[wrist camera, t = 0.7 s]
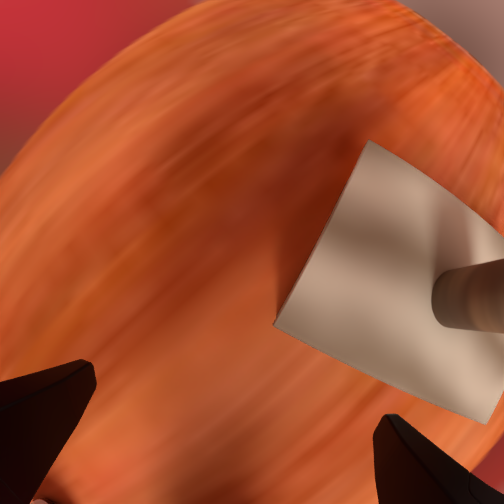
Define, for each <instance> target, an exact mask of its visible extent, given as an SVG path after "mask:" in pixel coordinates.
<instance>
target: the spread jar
mask: <svg viewBox="0 0 504 504" xmlns="http://www.w3.org/2000/svg"><path fill="white" fill-rule="evenodd" d="M30 504H55V503H53V502H51V501H49V500H47V499H44V498H40V499H37V500H35V501H33V502H32V503H30Z"/></svg>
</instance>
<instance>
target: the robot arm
mask: <svg viewBox="0 0 504 504" xmlns="http://www.w3.org/2000/svg"><path fill="white" fill-rule="evenodd" d="M96 385H97V382H96V377H95V371H94V366H93V364H92V363H91V362H88V361H86V360H83V359H79V360H76V361H73V362H69V363H66V364H63V365H60V366H56V367H53V368H49V369H46V370H42V371H39V372H35V373H32V374H28V375H25V376H21V377H17V378H14V379H10V380H6V381H2V382H0V504H30V502H31V500H32V499H33V497H34V495H35V493H36V492H37V490H38V488H39V486H40V485H41V483H42V481H43V480H44V478H45V476H46V475H47V473H48V471H49V470H50V468H51V466H52V465H53V463H54V461H55V460H56V458H57V456H58V455H59V453H60V452H61V450H62V448H63V447H64V445H65V444H66V442H67V440H68V439H69V437H70V436H71V434H72V433H73V431H74V429H75V428H76V426H77V425H78V423H79V421H80V419H81V417H82V415H83V413H84V411H85V409H86V407H87V405H88V403H89V401H90V399H91V397H92V395H93V393H94V391H95V389H96ZM373 449H374V469H375V481H376V488H377V495H378V502H379V504H504V494H502V493H500V492H499V491H497V490H495V489H494V488H492V487H490V486H488V485H487V484H486V483H484V482H483V481H482V480H480V479H479V478H477V477H476V476H475V475H473V474H472V473H471V472H469V471H468V470H467V469H465V468H464V467H463V466H462V465H460V464H459V463H458V462H456V461H455V460H454V459H453V458H451V457H450V456H449V455H447V454H446V453H445V452H444V451H442V450H441V449H440V448H439V447H437V446H436V445H435V444H434V443H432V442H431V441H430V440H429V439H427V438H426V437H425V436H424V435H422V434H421V433H420V432H419V431H417V430H416V429H415V428H414V427H412V426H411V425H410V424H409V423H408V422H406V421H405V420H404V419H403V418H401V417H400V416H399V415H398V414H385V415H384V416H383V417H382V418H381V420H380V422H379V424H378V426H377V427H376V429H375V431H374V434H373Z"/></svg>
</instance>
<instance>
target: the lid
mask: <svg viewBox="0 0 504 504" xmlns="http://www.w3.org/2000/svg"><path fill="white" fill-rule="evenodd" d="M273 326H274V327H276V328H277V329H279V330H281V331H283V332H285V333H287V334H289V335H290V336H292V337H294V338H296V339H298V340H300V341H302V342H304V343H306V344H307V345H309V346H311V347H313V348H315V349H317V350H319V351H321V352H323V353H325V354H327V355H329V356H331V357H333V358H335V359H337V360H339V361H341V362H343V363H345V364H347V365H349V366H351V367H353V368H355V369H357V370H359V371H361V372H363V373H365V374H367V375H370V376H372V377H374V378H376V379H378V380H380V381H382V382H384V383H387V384H389V385H391V386H393V387H395V388H398V389H400V390H402V391H404V392H407V393H409V394H411V395H413V396H416V397H418V398H420V399H422V400H425V401H427V402H429V403H432V404H434V405H437V406H439V407H441V408H444V409H446V410H449V411H451V412H454V413H456V414H459V415H461V416H464V417H466V418H469V419H471V420H474V421H477V422H479V423H482V424H485V425H486V424H487V422H488V420H489V419H490V417H491V415H492V413H493V411H494V409H495V407H496V405H497V403H498V401H499V399H500V397H501V395H502V393H503V391H504V237H503V236H501V235H500V234H499V233H498V232H497V231H496V230H495V229H494V228H493V227H492V226H490V225H489V224H488V223H487V222H486V221H485V220H484V219H482V218H481V217H480V216H479V215H478V214H477V213H475V212H474V211H473V210H472V209H471V208H469V207H468V206H467V205H466V204H464V203H463V202H462V201H461V200H459V199H458V198H457V197H455V196H454V195H453V194H452V193H450V192H449V191H448V190H446V189H445V188H443V187H442V186H441V185H439V184H438V183H437V182H435V181H434V180H432V179H431V178H430V177H428V176H427V175H425V174H424V173H422V172H421V171H419V170H418V169H416V168H415V167H413V166H412V165H410V164H409V163H407V162H406V161H404V160H403V159H401V158H399V157H398V156H396V155H395V154H393V153H391V152H390V151H388V150H386V149H385V148H383V147H381V146H380V145H378V144H376V143H374V142H373V141H371V140H369V139H368V141H367V143H366V144H365V146H364V148H363V150H362V152H361V154H360V156H359V158H358V161H357V163H356V165H355V167H354V169H353V171H352V173H351V176H350V178H349V180H348V182H347V184H346V186H345V188H344V190H343V192H342V194H341V196H340V198H339V200H338V202H337V204H336V207H335V209H334V211H333V213H332V215H331V217H330V219H329V221H328V223H327V224H326V226H325V228H324V230H323V232H322V234H321V236H320V238H319V240H318V242H317V244H316V246H315V248H314V250H313V252H312V254H311V255H310V257H309V259H308V261H307V263H306V265H305V267H304V269H303V270H302V272H301V274H300V276H299V278H298V280H297V282H296V283H295V285H294V287H293V289H292V291H291V292H290V294H289V296H288V298H287V300H286V301H285V303H284V305H283V307H282V309H281V310H280V312H279V314H278V316H277V317H276V319H275V321H274V323H273Z"/></svg>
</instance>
